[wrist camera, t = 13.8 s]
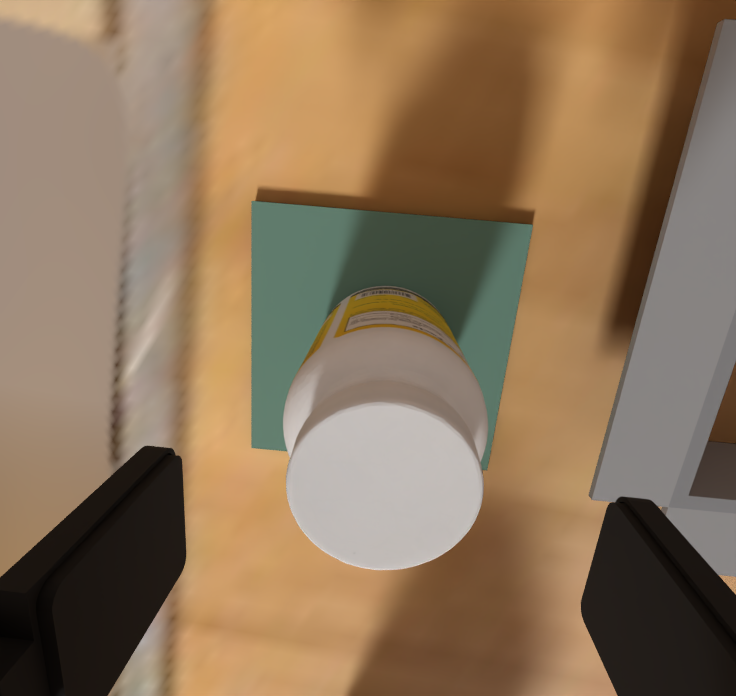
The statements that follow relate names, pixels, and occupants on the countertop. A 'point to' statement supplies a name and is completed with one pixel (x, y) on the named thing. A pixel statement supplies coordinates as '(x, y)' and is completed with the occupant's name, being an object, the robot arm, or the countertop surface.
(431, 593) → the countertop surface
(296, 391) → the pill bottle
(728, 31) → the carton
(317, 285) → the mat
